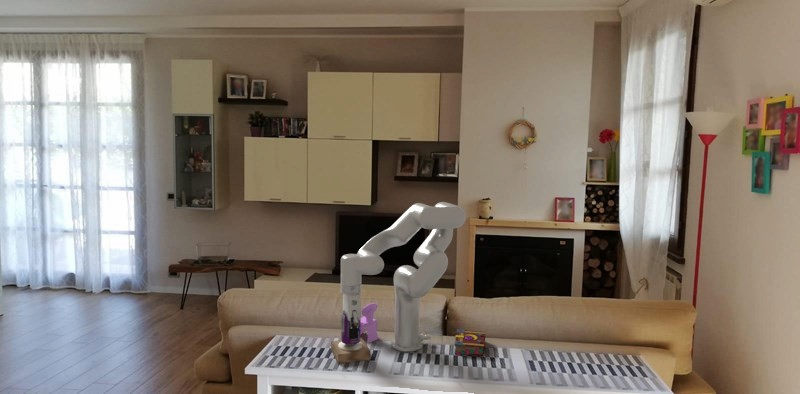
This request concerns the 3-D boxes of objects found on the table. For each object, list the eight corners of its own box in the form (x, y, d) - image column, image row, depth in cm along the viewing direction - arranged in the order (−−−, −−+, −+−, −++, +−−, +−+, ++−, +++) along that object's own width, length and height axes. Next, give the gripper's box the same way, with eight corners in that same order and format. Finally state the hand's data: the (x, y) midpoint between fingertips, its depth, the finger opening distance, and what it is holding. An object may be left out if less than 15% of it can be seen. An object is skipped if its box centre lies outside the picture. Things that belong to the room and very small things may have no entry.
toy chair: (366, 331, 223) (366, 296, 221) (381, 337, 217) (381, 302, 215) (351, 337, 218) (351, 301, 215) (365, 343, 212) (366, 306, 209)
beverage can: (357, 347, 196) (357, 315, 195) (338, 345, 198) (338, 314, 196) (362, 339, 203) (362, 309, 201) (344, 337, 205) (344, 307, 203)
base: (361, 346, 209) (361, 336, 208) (370, 359, 197) (370, 349, 197) (331, 350, 205) (331, 340, 204) (338, 363, 194) (338, 353, 193)
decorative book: (484, 342, 216) (485, 330, 215) (484, 359, 200) (485, 346, 199) (456, 339, 218) (456, 327, 217) (453, 356, 202) (454, 343, 201)
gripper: (367, 294, 191) (367, 342, 193) (355, 280, 207) (354, 324, 209) (346, 296, 188) (346, 344, 191) (335, 282, 204) (335, 326, 207)
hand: (350, 334), depth 200 cm, fingers closed on beverage can, 6 cm apart
